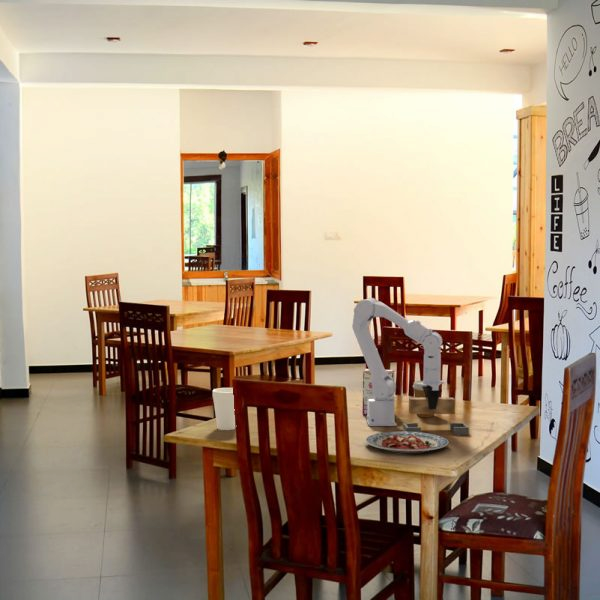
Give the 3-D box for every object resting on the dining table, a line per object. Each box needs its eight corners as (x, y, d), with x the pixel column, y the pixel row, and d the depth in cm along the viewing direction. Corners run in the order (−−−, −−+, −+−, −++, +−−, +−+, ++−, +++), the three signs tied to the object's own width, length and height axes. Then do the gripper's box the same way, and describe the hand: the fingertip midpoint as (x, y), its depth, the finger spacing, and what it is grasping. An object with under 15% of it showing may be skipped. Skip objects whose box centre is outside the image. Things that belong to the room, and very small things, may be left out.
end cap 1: (406, 435, 303) (406, 427, 302) (403, 430, 310) (403, 423, 310) (420, 435, 303) (421, 427, 302) (417, 430, 310) (417, 423, 310)
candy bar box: (362, 415, 335) (362, 370, 334) (363, 412, 340) (364, 368, 339) (393, 416, 333) (393, 371, 332) (394, 413, 338) (394, 369, 337)
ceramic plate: (354, 453, 279) (355, 443, 279) (377, 435, 304) (377, 426, 303) (439, 460, 271) (439, 450, 270) (455, 441, 295) (455, 432, 294)
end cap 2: (454, 435, 303) (454, 427, 303) (449, 430, 310) (450, 423, 310) (468, 435, 303) (468, 427, 303) (464, 430, 310) (464, 422, 310)
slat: (410, 414, 312) (410, 399, 312) (409, 412, 316) (409, 397, 315) (454, 413, 313) (454, 399, 312) (452, 411, 316) (452, 397, 316)
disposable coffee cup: (437, 413, 340) (438, 380, 339) (439, 418, 330) (439, 385, 329) (411, 412, 341) (412, 380, 340) (412, 417, 331) (412, 384, 330)
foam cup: (215, 424, 318) (215, 387, 317) (241, 425, 318) (241, 388, 317) (211, 430, 309) (210, 392, 308) (238, 431, 308) (238, 392, 307)
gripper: (447, 371, 306) (447, 412, 307) (439, 365, 320) (439, 403, 321) (426, 371, 306) (426, 412, 307) (419, 365, 320) (419, 403, 321)
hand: (431, 408), depth 314 cm, fingers closed on slat, 3 cm apart
